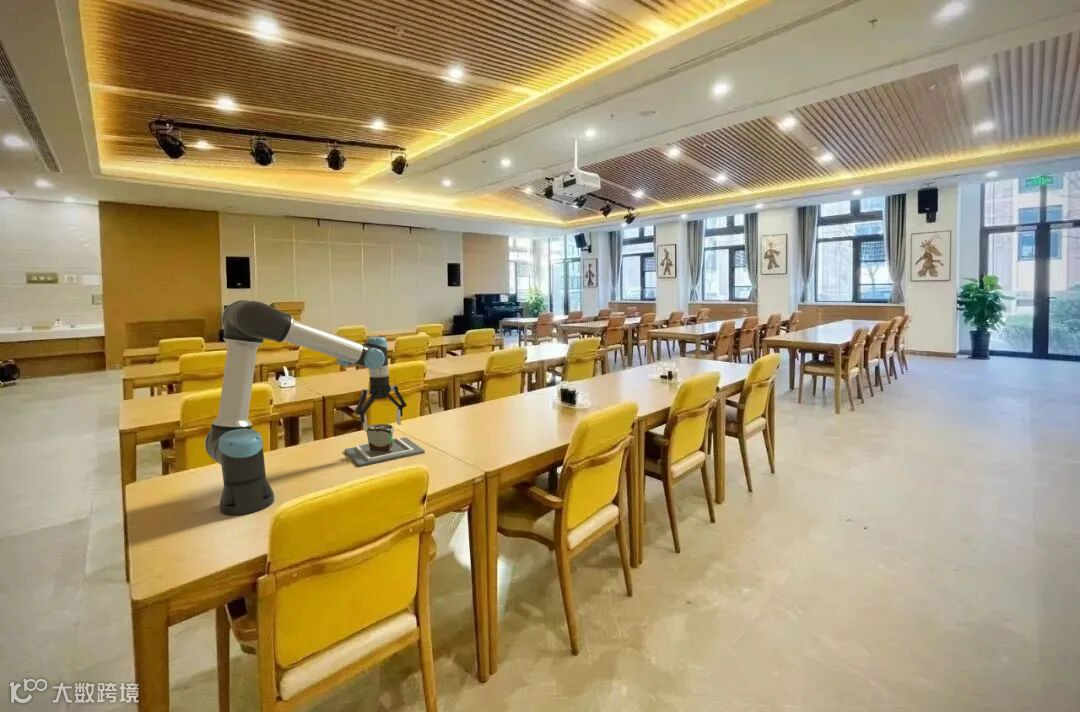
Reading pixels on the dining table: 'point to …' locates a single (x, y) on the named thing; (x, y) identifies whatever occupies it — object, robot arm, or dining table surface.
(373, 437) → the food container
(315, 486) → the dining table surface
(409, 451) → the dock board
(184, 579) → the dining table surface
